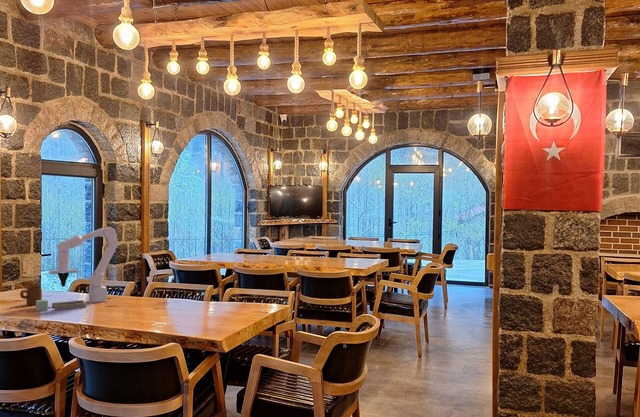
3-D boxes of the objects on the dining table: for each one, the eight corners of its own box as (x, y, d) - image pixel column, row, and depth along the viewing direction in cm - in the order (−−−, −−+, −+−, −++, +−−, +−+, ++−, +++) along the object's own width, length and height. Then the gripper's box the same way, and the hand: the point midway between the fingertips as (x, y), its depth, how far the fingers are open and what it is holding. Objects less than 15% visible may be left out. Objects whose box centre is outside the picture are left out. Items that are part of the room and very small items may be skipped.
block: (46, 308, 290) (46, 299, 290) (47, 310, 286) (47, 300, 286) (35, 309, 287) (35, 300, 287) (37, 311, 283) (37, 301, 283)
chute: (82, 304, 303) (82, 300, 303) (86, 307, 294) (86, 303, 294) (51, 307, 294) (51, 302, 294) (54, 310, 286) (54, 305, 286)
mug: (24, 307, 292) (24, 290, 292) (15, 306, 296) (15, 289, 296) (44, 304, 303) (44, 287, 303) (35, 302, 306) (35, 286, 306)
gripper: (75, 261, 312) (75, 284, 313) (48, 262, 304) (47, 286, 304) (78, 262, 307) (78, 285, 307) (50, 263, 298) (49, 287, 298)
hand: (63, 286), depth 305 cm, fingers closed
